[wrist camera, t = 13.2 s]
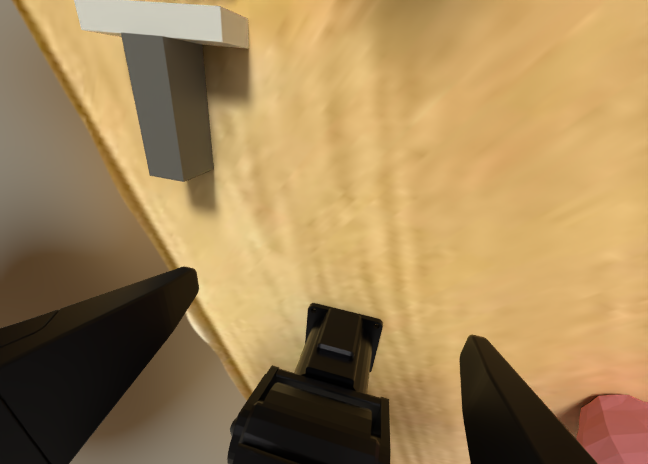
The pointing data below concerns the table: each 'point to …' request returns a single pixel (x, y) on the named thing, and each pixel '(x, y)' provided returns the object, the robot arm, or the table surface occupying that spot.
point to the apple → (615, 429)
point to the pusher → (168, 73)
